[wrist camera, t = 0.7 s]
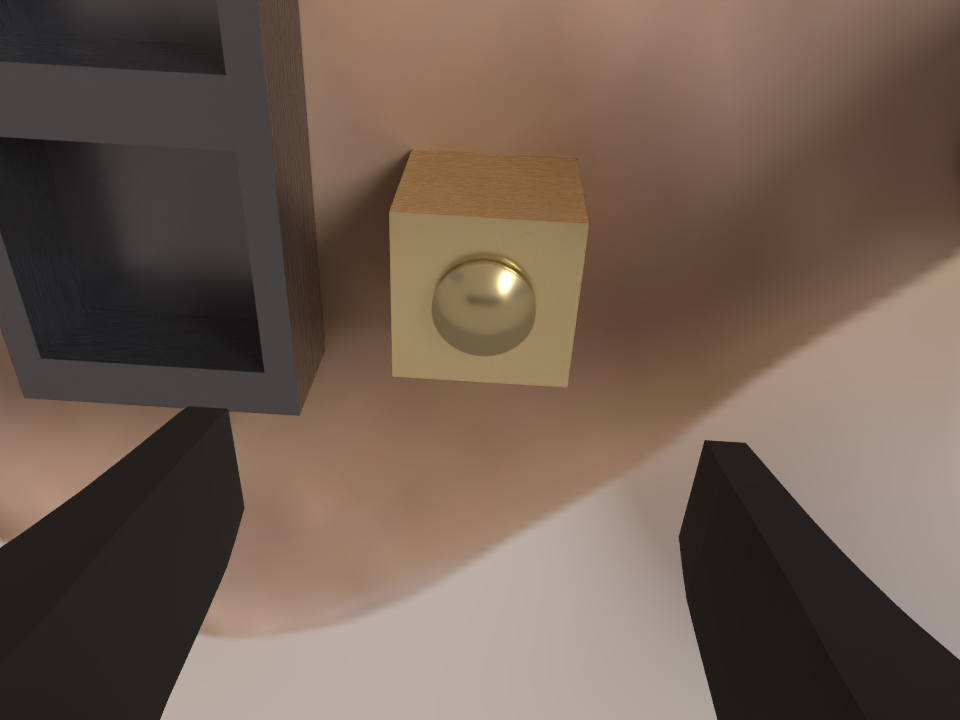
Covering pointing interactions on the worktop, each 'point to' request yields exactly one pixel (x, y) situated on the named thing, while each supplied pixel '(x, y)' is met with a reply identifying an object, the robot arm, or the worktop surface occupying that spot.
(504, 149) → the worktop surface
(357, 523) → the worktop surface
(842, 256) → the worktop surface
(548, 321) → the wooden knob block
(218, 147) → the cabinet frame
